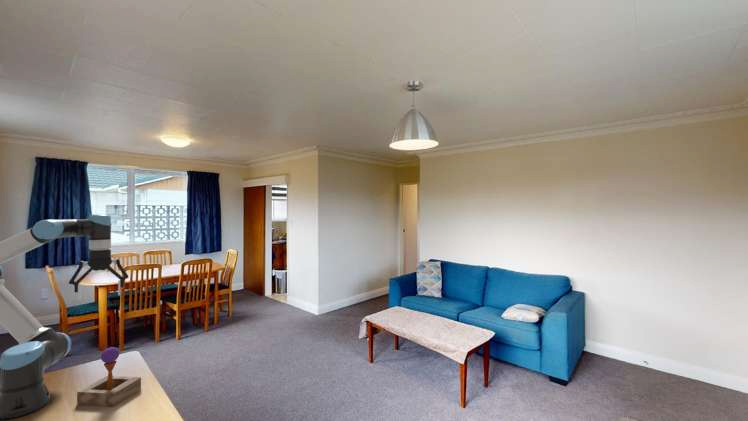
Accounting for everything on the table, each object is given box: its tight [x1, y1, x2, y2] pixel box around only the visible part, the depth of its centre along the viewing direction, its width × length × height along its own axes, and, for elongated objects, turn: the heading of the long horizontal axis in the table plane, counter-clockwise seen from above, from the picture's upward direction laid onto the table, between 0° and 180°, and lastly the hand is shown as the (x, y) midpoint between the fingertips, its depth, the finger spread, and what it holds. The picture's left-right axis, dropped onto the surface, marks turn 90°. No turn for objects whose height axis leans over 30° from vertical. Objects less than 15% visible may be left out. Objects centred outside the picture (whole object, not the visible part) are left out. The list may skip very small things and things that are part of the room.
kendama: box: [100, 346, 120, 391], centre depth 135 cm, size 6×6×20 cm
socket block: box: [76, 375, 142, 407], centre depth 135 cm, size 16×13×5 cm
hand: (99, 297), depth 145 cm, fingers open, 13 cm apart
